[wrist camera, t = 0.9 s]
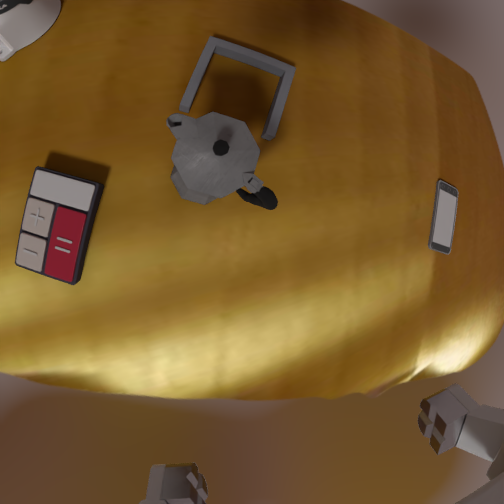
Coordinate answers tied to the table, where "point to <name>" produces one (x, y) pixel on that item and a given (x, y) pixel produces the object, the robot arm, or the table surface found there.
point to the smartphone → (443, 218)
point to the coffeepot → (216, 160)
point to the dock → (254, 60)
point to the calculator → (57, 224)
